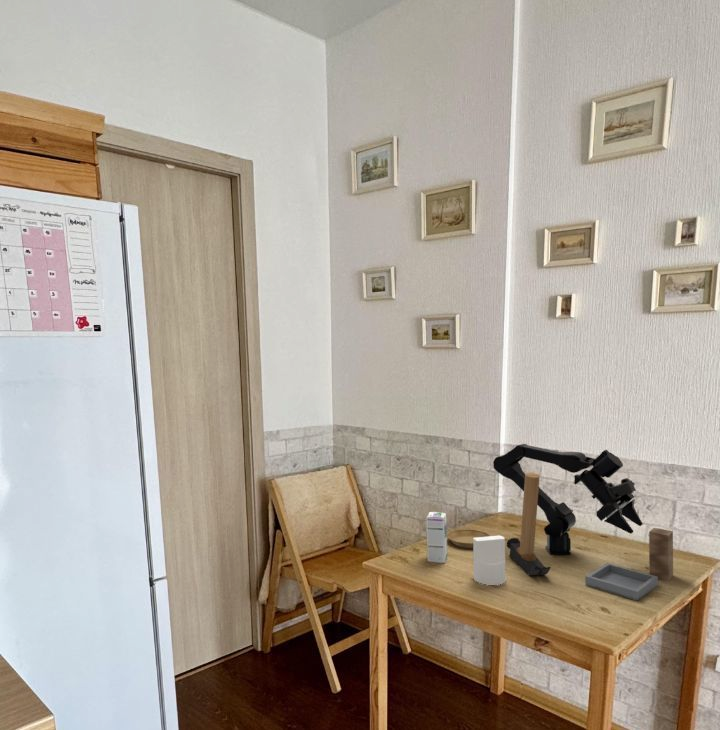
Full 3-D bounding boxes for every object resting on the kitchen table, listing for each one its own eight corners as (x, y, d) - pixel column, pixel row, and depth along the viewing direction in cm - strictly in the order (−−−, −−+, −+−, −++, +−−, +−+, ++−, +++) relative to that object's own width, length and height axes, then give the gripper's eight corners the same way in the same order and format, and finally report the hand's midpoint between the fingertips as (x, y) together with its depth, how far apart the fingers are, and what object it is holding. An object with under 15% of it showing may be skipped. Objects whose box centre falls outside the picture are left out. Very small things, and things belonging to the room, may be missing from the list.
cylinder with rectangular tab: (481, 587, 152) (480, 544, 152) (468, 574, 161) (468, 534, 161) (511, 584, 154) (510, 542, 154) (497, 571, 163) (496, 532, 163)
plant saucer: (450, 551, 181) (450, 543, 181) (444, 536, 196) (444, 529, 196) (495, 550, 181) (495, 542, 181) (485, 536, 196) (485, 528, 196)
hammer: (549, 585, 158) (557, 489, 152) (532, 586, 157) (540, 490, 151) (520, 549, 177) (526, 462, 171) (505, 550, 177) (511, 463, 171)
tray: (637, 601, 142) (637, 591, 142) (585, 585, 153) (585, 576, 153) (657, 585, 152) (657, 576, 151) (607, 571, 162) (607, 562, 162)
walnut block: (649, 576, 158) (649, 531, 158) (654, 571, 162) (653, 527, 161) (668, 580, 154) (668, 535, 154) (673, 575, 158) (672, 531, 158)
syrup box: (445, 563, 170) (444, 517, 170) (426, 561, 172) (426, 516, 171) (447, 556, 176) (447, 512, 175) (429, 555, 177) (428, 511, 177)
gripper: (607, 476, 159) (648, 520, 151) (627, 465, 172) (666, 506, 165) (580, 498, 164) (619, 542, 157) (601, 487, 178) (638, 527, 171)
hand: (637, 528), depth 162 cm, fingers open, 9 cm apart
